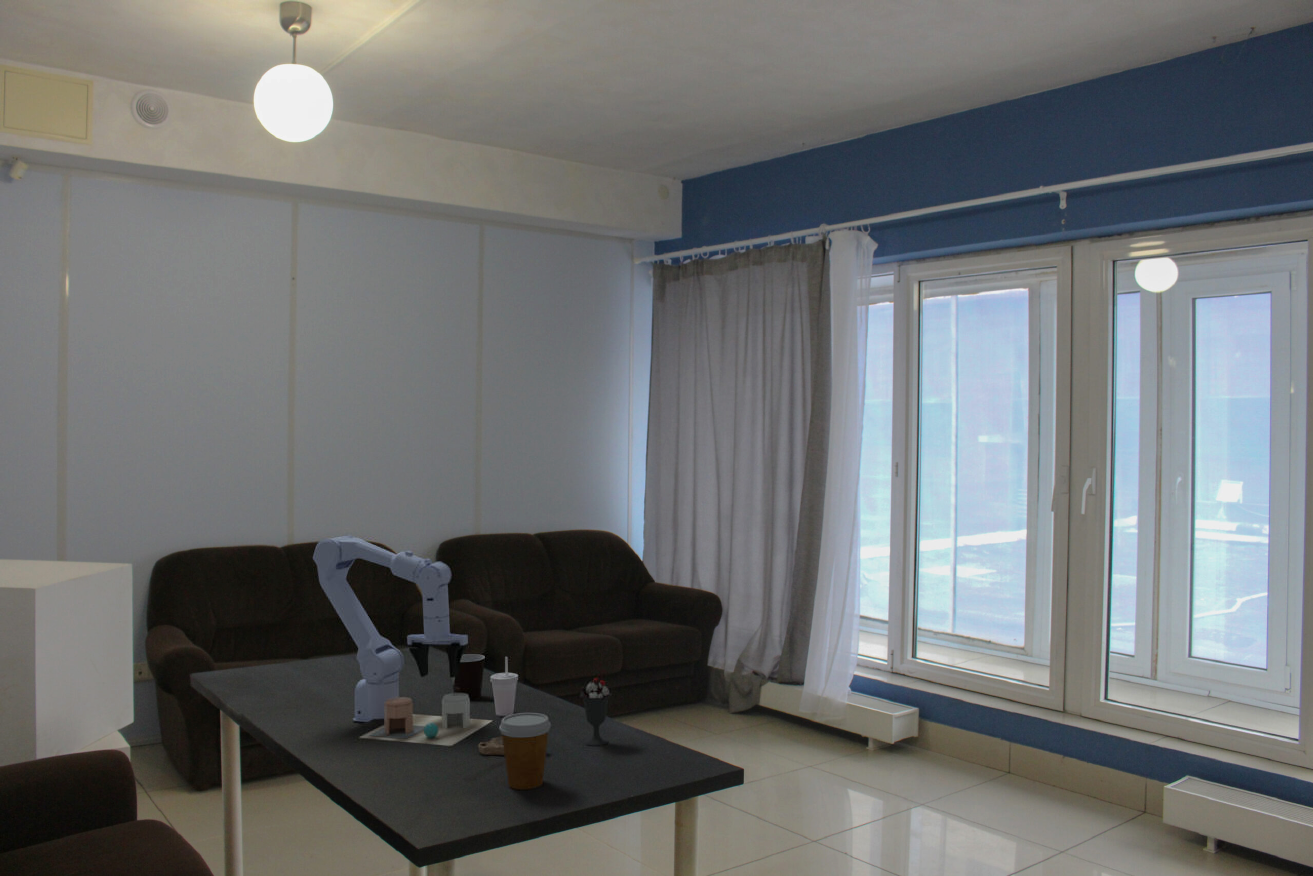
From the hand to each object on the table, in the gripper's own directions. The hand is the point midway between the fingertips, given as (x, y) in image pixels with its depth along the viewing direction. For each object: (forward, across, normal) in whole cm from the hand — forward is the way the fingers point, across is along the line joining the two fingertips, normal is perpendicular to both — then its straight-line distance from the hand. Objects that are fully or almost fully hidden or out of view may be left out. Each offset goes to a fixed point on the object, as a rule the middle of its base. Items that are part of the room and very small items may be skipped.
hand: (439, 676), depth 223 cm
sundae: (+12, +40, -4) cm, 42 cm away
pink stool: (+9, -3, -12) cm, 15 cm away
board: (+10, +2, -8) cm, 14 cm away
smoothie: (+11, +12, +7) cm, 18 cm away
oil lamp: (+12, +26, -17) cm, 33 cm away
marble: (+8, +6, -14) cm, 17 cm away
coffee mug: (+10, -5, +22) cm, 25 cm away
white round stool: (+10, +6, -5) cm, 13 cm away
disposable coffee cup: (+12, +36, -31) cm, 49 cm away
